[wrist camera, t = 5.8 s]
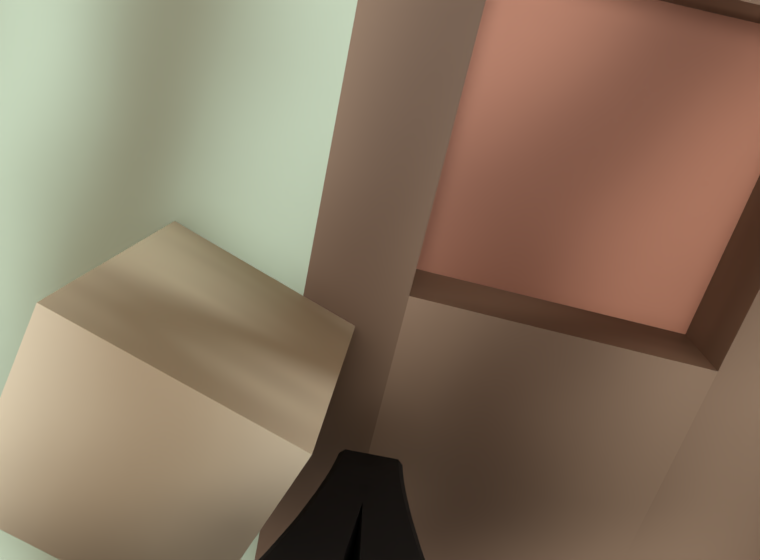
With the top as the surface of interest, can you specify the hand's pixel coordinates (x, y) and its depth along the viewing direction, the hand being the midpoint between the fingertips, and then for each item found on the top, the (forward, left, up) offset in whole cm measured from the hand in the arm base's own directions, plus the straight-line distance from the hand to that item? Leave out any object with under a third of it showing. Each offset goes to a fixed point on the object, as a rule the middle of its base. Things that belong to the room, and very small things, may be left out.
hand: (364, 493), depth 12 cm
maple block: (+3, -2, -1) cm, 4 cm away
